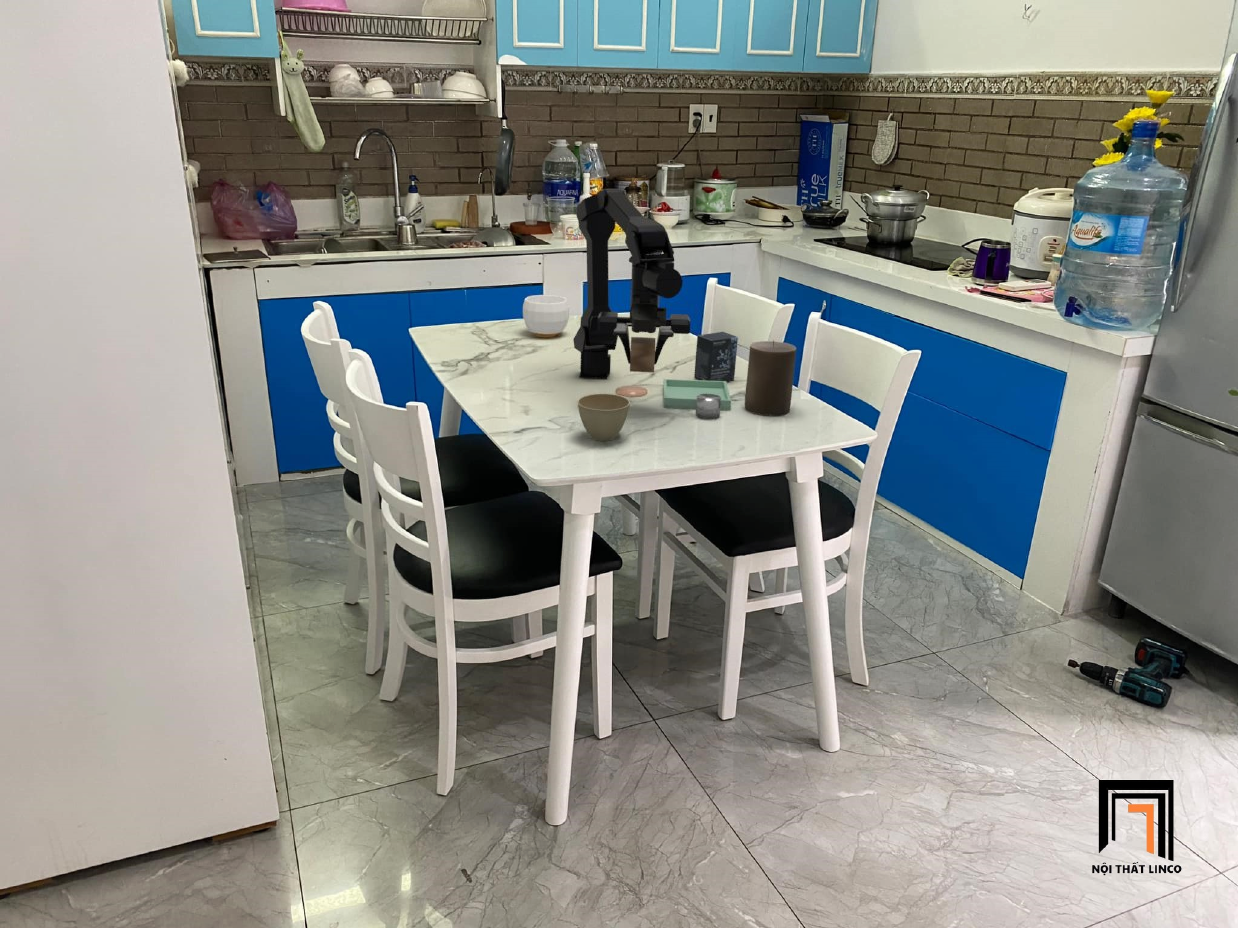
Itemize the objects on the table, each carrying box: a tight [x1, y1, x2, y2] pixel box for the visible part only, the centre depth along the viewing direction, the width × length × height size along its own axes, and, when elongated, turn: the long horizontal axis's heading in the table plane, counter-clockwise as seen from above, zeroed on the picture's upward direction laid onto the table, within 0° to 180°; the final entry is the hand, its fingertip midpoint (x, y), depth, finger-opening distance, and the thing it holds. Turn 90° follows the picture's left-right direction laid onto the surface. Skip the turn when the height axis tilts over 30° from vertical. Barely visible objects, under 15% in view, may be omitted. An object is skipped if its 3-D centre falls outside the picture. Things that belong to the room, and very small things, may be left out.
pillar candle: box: [744, 339, 797, 417], centre depth 196 cm, size 10×10×15 cm
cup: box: [522, 294, 570, 338], centre depth 250 cm, size 12×12×10 cm
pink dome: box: [615, 385, 649, 398], centre depth 207 cm, size 7×7×1 cm
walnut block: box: [629, 336, 656, 373], centre depth 193 cm, size 5×5×6 cm
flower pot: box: [576, 392, 631, 442], centre depth 179 cm, size 10×10×7 cm
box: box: [693, 331, 739, 382], centre depth 216 cm, size 8×6×11 cm
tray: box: [662, 378, 732, 411], centre depth 204 cm, size 14×14×2 cm
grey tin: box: [695, 394, 721, 421], centre depth 193 cm, size 5×5×4 cm
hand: (642, 363), depth 194 cm, fingers closed on walnut block, 5 cm apart
